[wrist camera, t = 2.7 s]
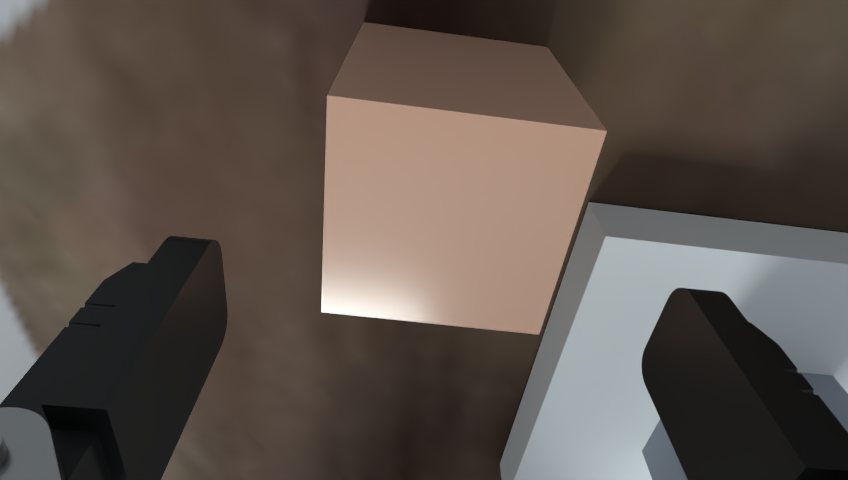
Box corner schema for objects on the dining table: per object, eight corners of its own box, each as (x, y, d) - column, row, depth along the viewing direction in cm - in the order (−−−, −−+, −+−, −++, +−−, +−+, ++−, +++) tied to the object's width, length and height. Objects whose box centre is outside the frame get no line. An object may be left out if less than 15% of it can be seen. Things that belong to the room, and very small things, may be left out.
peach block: (364, 21, 14) (327, 95, 9) (547, 46, 15) (607, 131, 10) (353, 186, 17) (321, 312, 12) (508, 204, 17) (539, 334, 12)
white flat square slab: (588, 202, 17) (605, 236, 15) (996, 250, 18) (1054, 288, 16) (499, 463, 25) (504, 505, 23) (787, 489, 26) (812, 531, 24)
